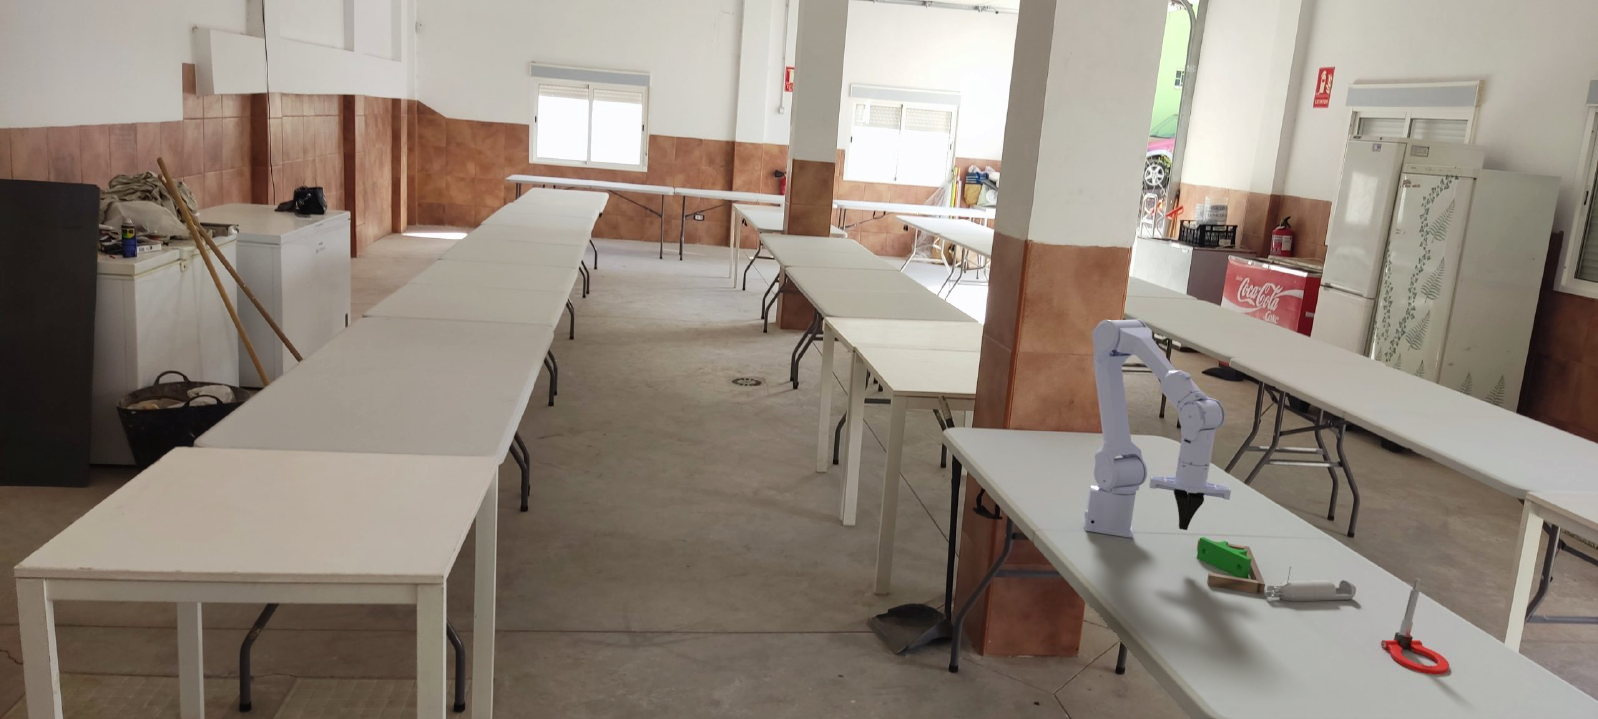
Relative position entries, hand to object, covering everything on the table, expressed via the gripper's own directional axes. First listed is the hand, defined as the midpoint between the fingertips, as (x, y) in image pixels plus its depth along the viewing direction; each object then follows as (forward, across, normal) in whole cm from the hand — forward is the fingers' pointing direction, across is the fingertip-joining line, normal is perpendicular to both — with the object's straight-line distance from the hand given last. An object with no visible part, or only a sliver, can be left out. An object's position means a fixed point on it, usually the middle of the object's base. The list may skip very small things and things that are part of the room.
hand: (1182, 527), depth 206 cm
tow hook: (+7, +35, -27) cm, 45 cm away
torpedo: (+7, +22, -8) cm, 25 cm away
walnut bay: (+7, +9, 0) cm, 11 cm away
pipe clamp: (+7, +9, +1) cm, 12 cm away
